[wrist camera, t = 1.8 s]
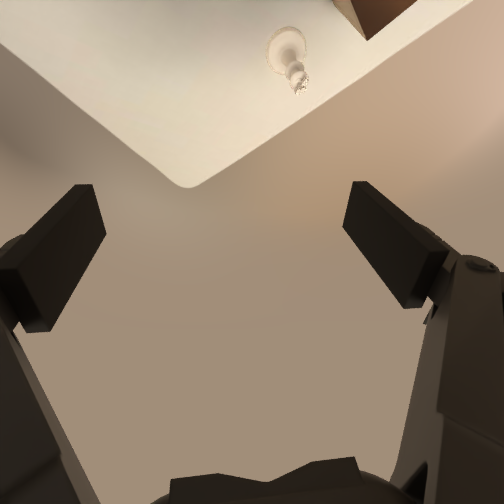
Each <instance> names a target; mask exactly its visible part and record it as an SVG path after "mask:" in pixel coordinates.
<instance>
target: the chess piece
mask: <svg viewBox="0 0 504 504" xmlns="http://www.w3.org/2000/svg"><path fill="white" fill-rule="evenodd" d="M305 56H306V42H305V39H304V37H303V35H302V34H301V32H300V31H298V30H297V29H295V28H291V27H286V28H282V29H280V30H278V31H277V32H276V33H275V34H274V35H273V36H272V37H271V38H270V40H269V42H268V45H267V49H266V58H267V62H268V64H269V66H270V67H271V68H272V70H273V71H275V72H276V73H278V74H281V75H286V78H287V79H288V80H289V81H290V86H291V88H292V89H293V90H295V94H297V95H298V96H299V94H300V93H301V92H302V93H304V92H305V91H306V88H305V87H306V86H307V84H308V82H309V80H308V75H307V73H306V72H305V71H304V65H303V64H302V63H303V61H304V59H305Z"/></svg>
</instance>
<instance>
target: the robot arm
mask: <svg viewBox="0 0 504 504" xmlns="http://www.w3.org/2000/svg"><path fill="white" fill-rule="evenodd" d="M342 227H343V228H344V230H345V231H346V232H347V234H348V235H349V236H350V238H351V239H352V240H353V242H354V243H355V244H356V246H357V247H358V248H359V250H360V251H361V252H362V254H363V255H364V256H365V258H366V259H367V260H368V262H369V263H370V264H371V266H372V267H373V268H374V269H375V271H376V272H377V274H378V275H379V276H380V278H381V279H382V280H383V282H384V283H385V284H386V286H387V287H388V288H389V290H390V291H391V293H392V294H393V295H394V296H395V298H396V299H397V300H398V302H399V303H400V305H401V306H402V307H403V308H404V309H410V308H422V306H423V304H424V302H425V300H426V298H427V296H428V297H429V298H430V299H431V300H432V301H433V305H432V307H431V309H430V311H429V313H428V315H427V317H426V318H425V320H424V323H423V324H425V325H426V324H427V326H426V330H425V335H424V340H423V344H422V349H421V353H420V358H419V363H418V367H417V372H416V377H415V381H414V386H413V390H412V395H411V400H410V404H409V409H408V414H407V418H406V423H405V427H404V432H403V436H402V441H401V446H400V450H399V455H398V460H397V463H396V466H395V469H394V472H393V474H392V476H391V479H390V481H389V482H388V481H386V480H384V479H382V478H380V477H378V476H376V475H373V474H370V473H367V472H364V471H360V470H359V468H358V466H357V462H356V460H355V457H346V458H338V459H331V460H322V461H315V462H310V463H308V464H306V465H304V466H302V467H300V468H298V469H296V470H293V471H292V472H289V473H287V474H285V475H283V476H281V477H279V478H277V479H275V480H273V481H270V482H261V481H256V480H251V479H245V478H240V477H235V476H230V475H224V474H219V473H216V474H208V475H200V476H192V477H184V478H176V479H171V481H170V492H169V494H167V495H165V496H163V497H161V498H159V499H157V500H156V501H154V502H153V503H151V504H504V272H500V271H499V269H498V267H496V266H495V265H494V264H493V263H491V262H489V261H487V260H485V259H483V258H480V257H477V256H472V255H461V254H459V253H458V252H457V251H456V250H454V249H453V248H452V247H451V246H450V245H448V244H447V243H446V242H445V241H442V239H441V238H440V237H439V236H437V235H435V233H434V232H432V231H431V230H430V229H429V228H427V227H425V226H423V225H421V224H419V223H417V222H415V221H414V220H412V219H411V218H410V217H409V216H408V215H407V214H405V213H404V212H403V211H402V210H401V209H399V208H398V207H397V206H396V205H395V204H393V203H392V202H391V201H390V200H389V199H387V198H386V197H385V196H384V195H383V194H381V193H380V192H379V191H378V190H377V189H375V188H374V187H373V186H372V185H370V184H369V183H368V182H367V181H354V182H353V184H352V188H351V192H350V196H349V201H348V205H347V209H346V213H345V218H344V222H343V226H342ZM105 236H106V230H105V227H104V223H103V220H102V216H101V213H100V209H99V206H98V202H97V199H96V195H95V192H94V189H93V185H92V184H87V185H86V184H85V185H84V184H82V185H81V184H79V185H74V186H73V187H72V188H71V189H70V190H69V191H68V192H67V193H66V194H65V195H64V196H63V197H62V198H61V199H60V200H59V201H58V202H57V203H56V204H55V205H54V206H53V207H52V208H51V209H50V210H49V211H48V212H47V213H46V214H45V215H44V216H43V217H42V218H41V219H40V220H39V221H38V222H37V223H36V224H34V225H33V226H32V228H30V229H29V230H28V231H27V232H26V233H25V234H23V235H19V236H17V237H15V238H13V239H11V240H10V241H8V242H6V243H5V244H4V245H3V246H2V247H1V248H0V504H100V502H99V500H98V498H97V496H96V494H95V492H94V490H93V488H92V486H91V484H90V482H89V480H88V478H87V476H86V474H85V472H84V470H83V468H82V466H81V464H80V462H79V460H78V458H77V456H76V454H75V452H74V450H73V448H72V446H71V444H70V442H69V440H68V439H67V436H66V434H65V432H64V430H63V428H62V426H61V424H60V422H59V420H58V418H57V416H56V414H55V412H54V410H53V409H52V406H51V404H50V402H49V401H48V399H47V396H46V394H45V392H44V390H43V389H42V387H41V385H40V383H39V381H38V378H37V377H36V374H35V373H34V371H33V369H32V366H31V364H30V362H29V361H28V359H27V357H26V355H25V353H24V351H23V349H22V347H21V345H20V343H19V341H18V339H17V337H16V335H15V334H14V332H13V329H14V328H15V327H16V325H17V323H18V322H20V323H21V325H22V326H23V328H24V330H25V331H26V333H36V332H50V331H51V330H52V328H53V326H54V324H55V323H56V321H57V319H58V317H59V315H60V314H61V312H62V310H63V309H64V307H65V305H66V303H67V302H68V300H69V298H70V297H71V295H72V293H73V291H74V289H75V288H76V286H77V284H78V283H79V281H80V279H81V277H82V276H83V274H84V272H85V270H86V269H87V267H88V265H89V263H90V261H91V260H92V258H93V257H94V254H95V253H96V251H97V249H98V248H99V246H100V244H101V243H102V241H103V239H104V237H105Z"/></svg>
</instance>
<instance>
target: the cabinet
mask: <svg viewBox="0 0 504 504" xmlns="http://www.w3.org/2000/svg"><path fill="white" fill-rule="evenodd" d="M332 1H333V4H334V5H335V6H336V7H337V9H338V10H339V11H340V12H341V13H342V14H343V15H344V16H345V17H346V18H347V20H348V21H349V22H350V23H351V24H352V25H353V26H354V27H355V28H356V29H357V31H358V32H359V33H360V34H361V35H362V36H363V37H364V38H365V39H366V40H367V41H368V40H369V39H370V38H372V37H373V36H374V35H375V34H377V33H378V32H379V31H380V30H381V29H383V28H384V27H385V26H386V25H388V24H389V23H390V22H391V21H393V20H394V19H395V18H396V17H397V16H399V15H400V14H401V13H402V12H404V11H405V10H406V9H407V8H409V7H410V6H411V5H412V4H413V3H415V2H416V1H417V0H332Z"/></svg>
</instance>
